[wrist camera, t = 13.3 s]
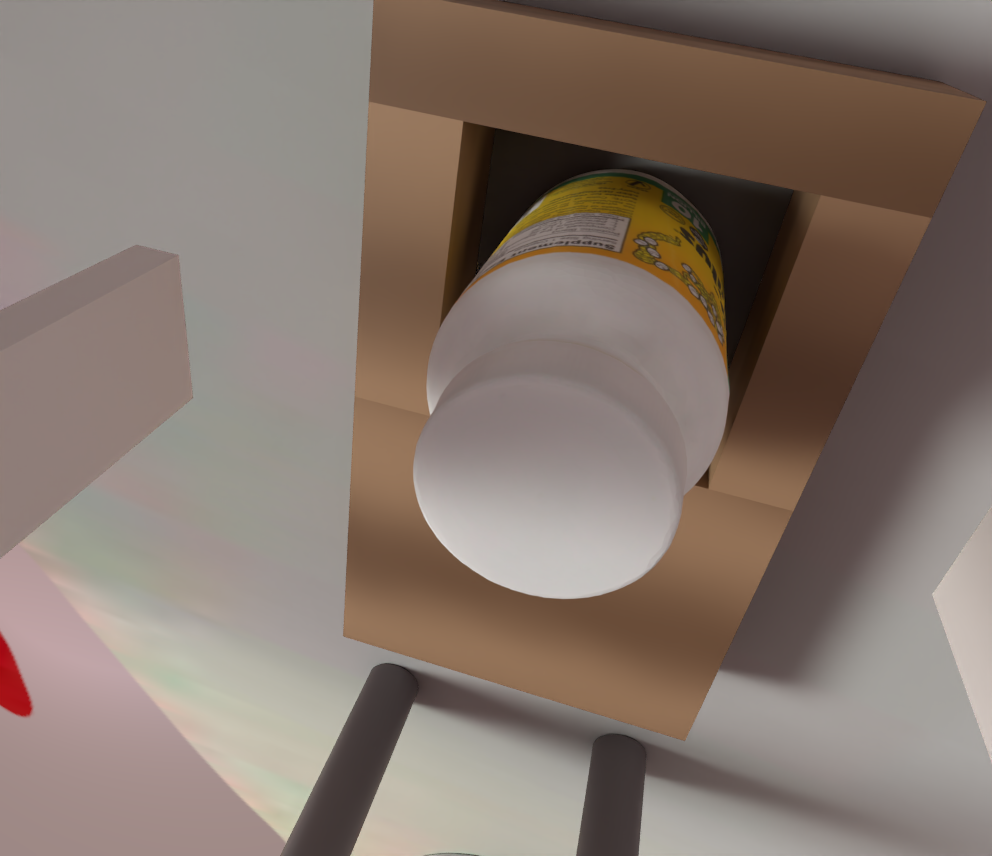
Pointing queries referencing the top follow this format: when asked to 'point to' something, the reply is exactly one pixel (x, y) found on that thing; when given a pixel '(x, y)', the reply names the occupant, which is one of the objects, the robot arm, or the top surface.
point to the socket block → (756, 363)
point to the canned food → (450, 854)
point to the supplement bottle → (578, 389)
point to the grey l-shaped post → (371, 741)
